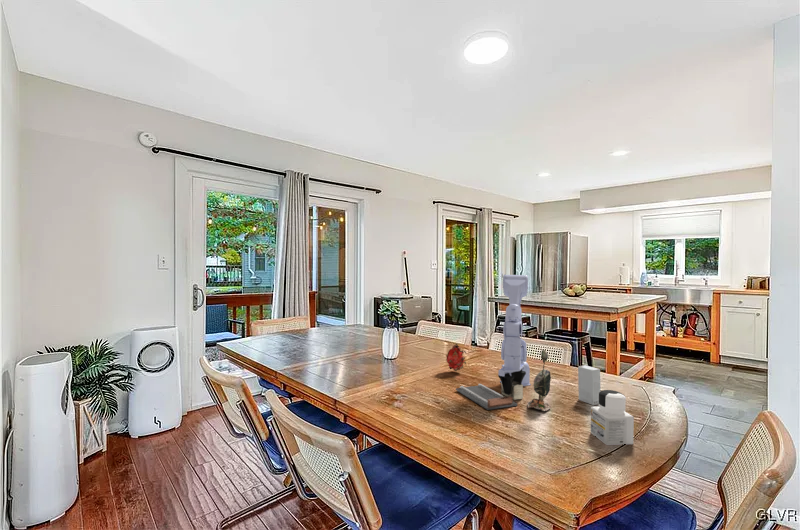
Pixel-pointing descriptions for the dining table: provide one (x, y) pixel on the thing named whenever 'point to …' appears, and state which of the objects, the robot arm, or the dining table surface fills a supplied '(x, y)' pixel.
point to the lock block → (514, 390)
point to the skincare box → (589, 384)
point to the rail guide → (486, 397)
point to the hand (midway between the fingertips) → (511, 392)
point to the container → (612, 419)
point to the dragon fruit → (455, 358)
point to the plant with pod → (541, 386)
